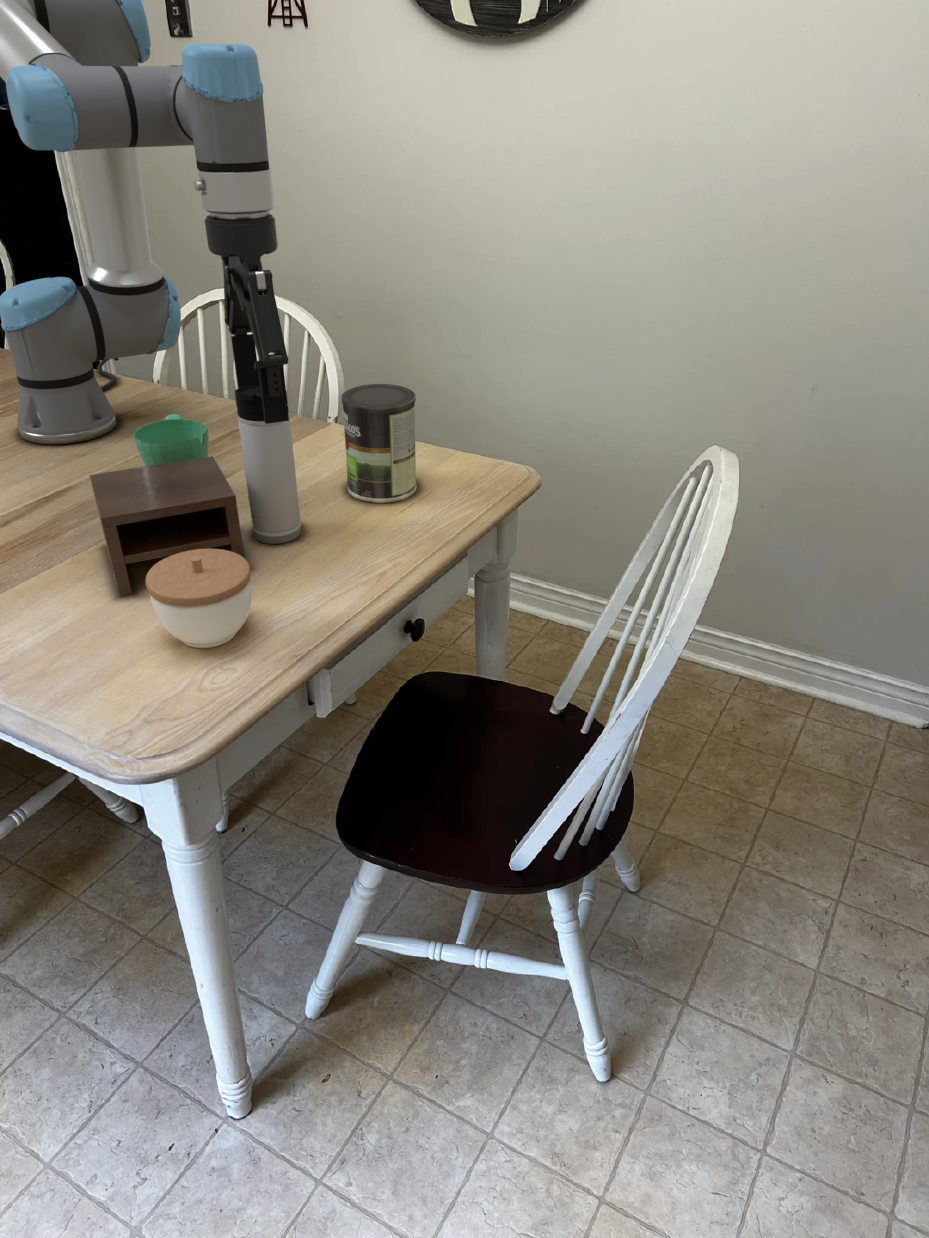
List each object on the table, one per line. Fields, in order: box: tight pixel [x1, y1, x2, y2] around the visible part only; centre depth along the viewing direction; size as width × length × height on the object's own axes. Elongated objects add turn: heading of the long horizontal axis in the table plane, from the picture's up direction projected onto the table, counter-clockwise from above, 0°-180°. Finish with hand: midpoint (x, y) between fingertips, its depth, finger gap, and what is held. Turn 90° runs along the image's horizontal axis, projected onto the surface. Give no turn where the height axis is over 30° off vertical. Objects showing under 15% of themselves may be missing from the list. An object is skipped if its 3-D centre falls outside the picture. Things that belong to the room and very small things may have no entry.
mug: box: [133, 413, 209, 467], centre depth 124 cm, size 15×10×10 cm
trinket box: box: [145, 548, 253, 649], centre depth 94 cm, size 11×11×9 cm
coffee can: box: [341, 383, 418, 504], centre depth 125 cm, size 10×10×14 cm
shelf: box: [89, 455, 246, 597], centre depth 107 cm, size 13×15×10 cm
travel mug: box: [234, 386, 302, 545], centre depth 111 cm, size 6×7×20 cm
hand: (262, 404), depth 106 cm, fingers open, 13 cm apart
